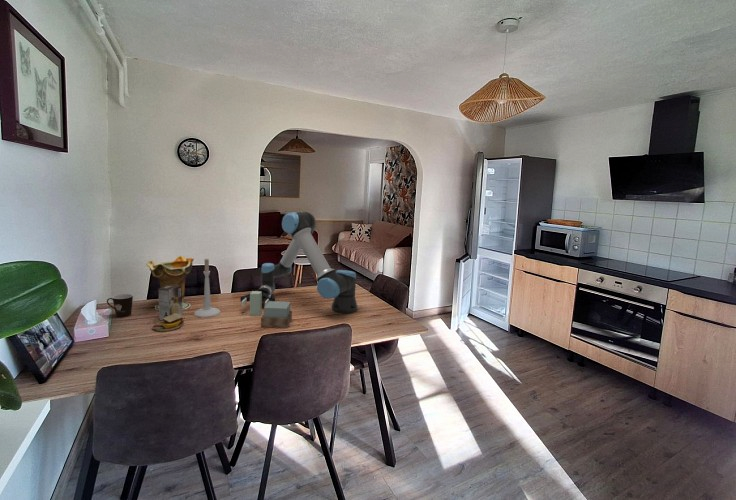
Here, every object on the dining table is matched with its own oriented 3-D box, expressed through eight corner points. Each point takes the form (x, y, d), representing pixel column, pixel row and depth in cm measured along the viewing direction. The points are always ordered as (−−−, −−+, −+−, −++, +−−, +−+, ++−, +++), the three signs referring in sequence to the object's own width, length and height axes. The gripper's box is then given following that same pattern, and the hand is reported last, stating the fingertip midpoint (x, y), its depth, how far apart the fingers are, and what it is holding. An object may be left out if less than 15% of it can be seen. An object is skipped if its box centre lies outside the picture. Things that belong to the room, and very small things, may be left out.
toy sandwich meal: (148, 326, 171) (148, 317, 170) (178, 320, 181) (178, 311, 180) (157, 334, 163) (157, 324, 162) (188, 327, 173) (188, 318, 172)
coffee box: (172, 313, 189) (171, 284, 186) (183, 315, 187) (182, 285, 185) (158, 319, 180) (157, 288, 177) (170, 321, 179) (169, 289, 176)
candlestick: (210, 318, 185) (209, 261, 180) (188, 315, 187) (187, 259, 183) (225, 311, 197) (224, 257, 193) (204, 308, 200) (203, 255, 195)
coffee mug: (137, 314, 185) (136, 295, 183) (120, 319, 177) (119, 299, 175) (123, 310, 190) (122, 292, 188) (105, 314, 182) (104, 295, 180)
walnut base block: (291, 319, 191) (291, 310, 191) (287, 328, 178) (287, 319, 178) (267, 318, 191) (267, 309, 190) (260, 327, 178) (261, 318, 177)
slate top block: (289, 311, 190) (290, 302, 189) (286, 318, 179) (286, 308, 178) (268, 310, 189) (269, 301, 188) (263, 317, 178) (264, 307, 177)
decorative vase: (138, 308, 192) (139, 256, 189) (175, 300, 213) (176, 253, 210) (166, 315, 185) (167, 261, 182) (202, 306, 206) (203, 257, 203)
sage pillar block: (261, 312, 198) (261, 291, 196) (259, 315, 193) (259, 294, 191) (252, 312, 198) (252, 291, 196) (249, 315, 193) (249, 293, 191)
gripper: (284, 300, 214) (276, 312, 192) (243, 298, 212) (231, 310, 191) (284, 287, 212) (276, 298, 191) (243, 286, 211) (231, 296, 190)
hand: (253, 304), depth 191 cm, fingers open, 11 cm apart
